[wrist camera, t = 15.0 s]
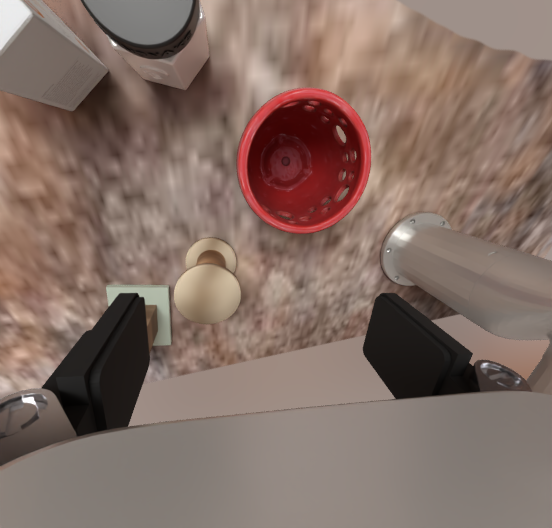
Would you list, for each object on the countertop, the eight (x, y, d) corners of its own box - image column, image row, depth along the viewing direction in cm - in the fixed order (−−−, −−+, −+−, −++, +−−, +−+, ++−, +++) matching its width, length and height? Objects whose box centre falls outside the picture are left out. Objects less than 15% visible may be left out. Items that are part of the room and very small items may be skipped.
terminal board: (169, 285, 39) (168, 287, 38) (171, 341, 42) (170, 345, 42) (108, 284, 37) (106, 287, 36) (116, 343, 41) (114, 347, 40)
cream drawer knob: (237, 238, 38) (242, 267, 28) (234, 282, 41) (239, 323, 31) (185, 236, 37) (172, 265, 27) (186, 282, 39) (175, 325, 29)
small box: (-4, 43, 26) (-189, -50, 14) (36, -7, 26) (-124, -149, 14) (73, 114, 30) (-26, 85, 18) (111, 71, 29) (34, 11, 17)
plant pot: (238, 98, 32) (247, 67, 21) (338, 121, 35) (391, 104, 24) (227, 206, 36) (230, 227, 25) (317, 218, 39) (353, 242, 28)
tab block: (156, 304, 39) (141, 338, 31) (157, 330, 40) (143, 369, 33) (122, 304, 38) (99, 339, 30) (125, 331, 39) (103, 370, 32)
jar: (121, 76, 29) (61, 26, 18) (121, -19, 26) (51, -144, 15) (205, 97, 31) (197, 65, 20) (213, 12, 29) (209, -78, 18)
